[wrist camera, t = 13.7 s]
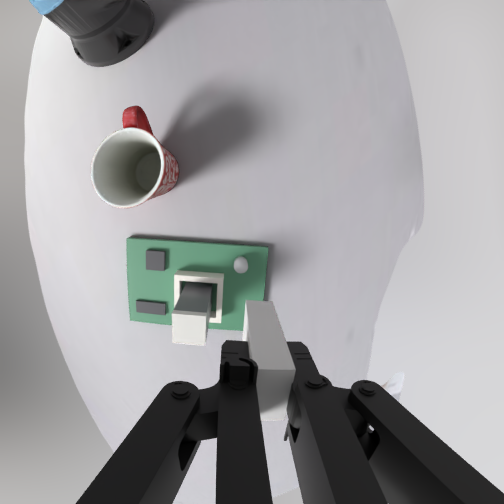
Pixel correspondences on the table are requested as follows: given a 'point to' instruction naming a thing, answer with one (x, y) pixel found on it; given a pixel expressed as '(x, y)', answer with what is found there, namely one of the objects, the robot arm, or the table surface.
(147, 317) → the board
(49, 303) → the table surface
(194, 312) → the plug
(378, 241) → the table surface
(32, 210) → the table surface
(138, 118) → the mug
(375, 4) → the table surface
